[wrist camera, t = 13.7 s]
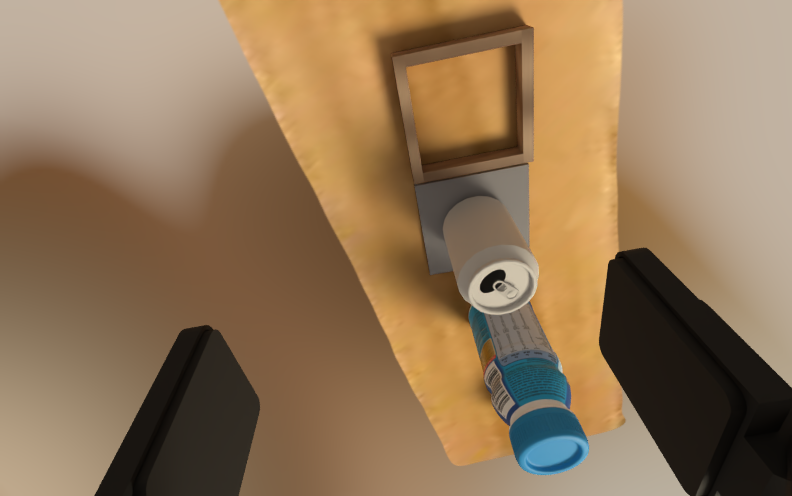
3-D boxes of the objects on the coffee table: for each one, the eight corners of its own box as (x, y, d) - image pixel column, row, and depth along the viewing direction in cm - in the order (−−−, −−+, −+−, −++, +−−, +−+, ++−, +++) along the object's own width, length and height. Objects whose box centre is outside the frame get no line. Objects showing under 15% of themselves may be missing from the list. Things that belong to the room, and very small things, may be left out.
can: (468, 180, 44) (498, 241, 34) (522, 212, 47) (563, 278, 37) (428, 232, 47) (444, 302, 37) (480, 259, 50) (507, 332, 40)
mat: (414, 184, 44) (414, 186, 44) (527, 162, 44) (528, 164, 43) (429, 273, 51) (430, 275, 51) (528, 255, 50) (529, 257, 50)
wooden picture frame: (391, 53, 37) (392, 57, 36) (526, 25, 37) (533, 27, 35) (412, 176, 44) (414, 184, 42) (527, 153, 43) (533, 161, 42)
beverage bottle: (510, 273, 52) (577, 417, 35) (541, 312, 56) (614, 458, 39) (453, 307, 54) (491, 455, 38) (487, 342, 58) (534, 490, 42)
